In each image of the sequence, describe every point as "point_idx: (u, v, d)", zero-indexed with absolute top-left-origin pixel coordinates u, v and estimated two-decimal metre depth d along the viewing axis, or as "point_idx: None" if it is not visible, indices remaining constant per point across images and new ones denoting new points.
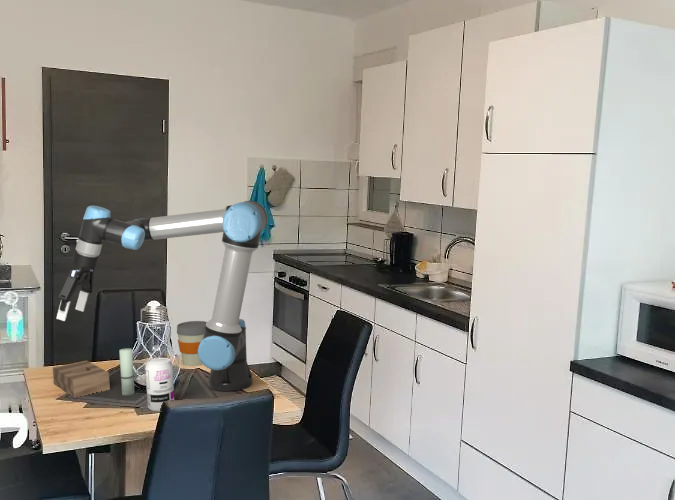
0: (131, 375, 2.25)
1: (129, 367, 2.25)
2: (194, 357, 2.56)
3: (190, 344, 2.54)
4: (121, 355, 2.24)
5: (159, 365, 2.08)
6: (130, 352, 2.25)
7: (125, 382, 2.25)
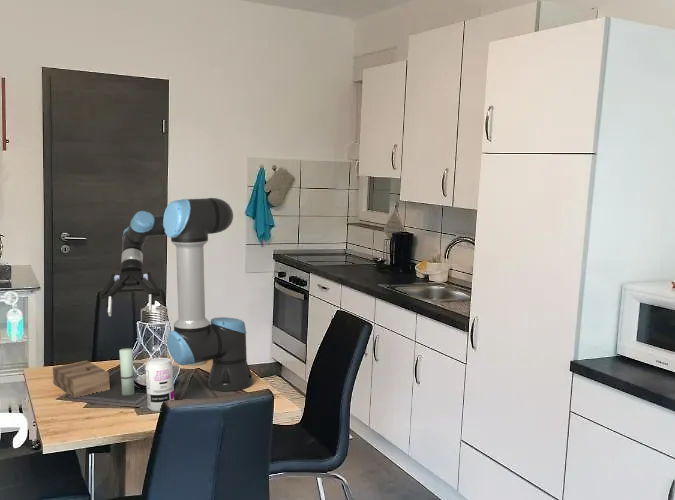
0: (131, 375, 2.25)
1: (129, 367, 2.25)
2: None
3: None
4: (121, 355, 2.24)
5: (159, 365, 2.08)
6: (130, 352, 2.25)
7: (125, 382, 2.25)
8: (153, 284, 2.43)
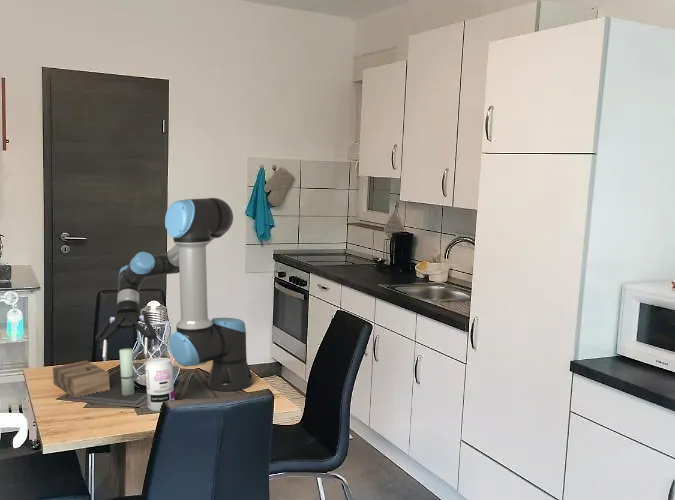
0: (131, 375, 2.25)
1: (129, 367, 2.25)
2: None
3: None
4: (121, 355, 2.24)
5: (159, 365, 2.08)
6: (130, 352, 2.25)
7: (125, 382, 2.25)
8: (149, 326, 2.37)
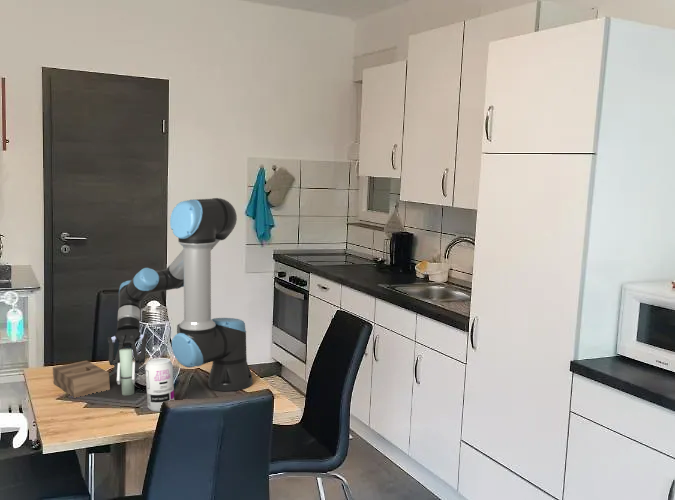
0: (131, 375, 2.25)
1: (129, 367, 2.25)
2: None
3: None
4: (121, 355, 2.24)
5: (159, 365, 2.08)
6: (130, 352, 2.25)
7: (125, 382, 2.25)
8: (142, 349, 2.30)
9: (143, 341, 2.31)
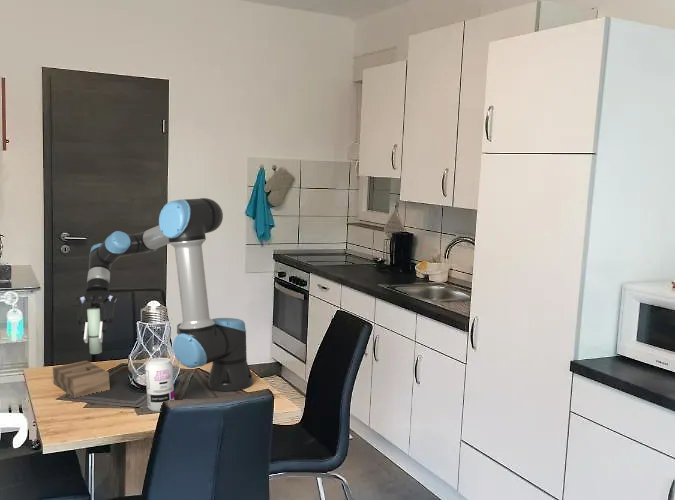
0: (98, 334, 2.29)
1: (96, 326, 2.28)
2: None
3: None
4: (89, 314, 2.28)
5: (159, 365, 2.08)
6: (98, 311, 2.28)
7: (93, 341, 2.29)
8: (110, 309, 2.33)
9: (111, 302, 2.35)
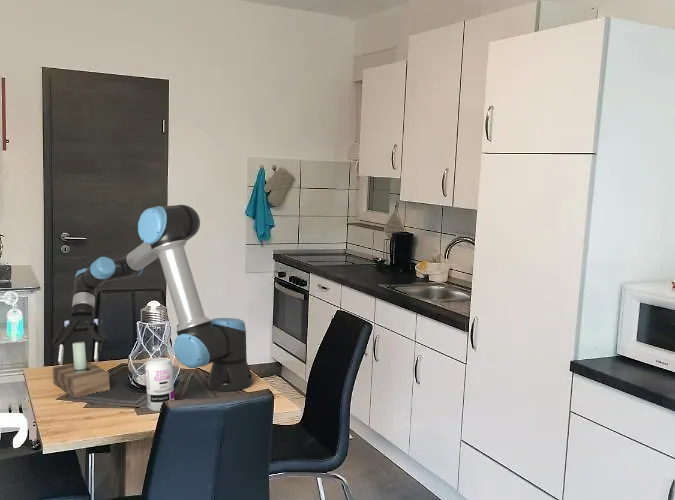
0: (84, 367, 2.33)
1: (81, 359, 2.33)
2: None
3: None
4: (74, 348, 2.32)
5: (159, 365, 2.08)
6: (83, 345, 2.33)
7: None
8: (101, 331, 2.38)
9: (99, 324, 2.39)
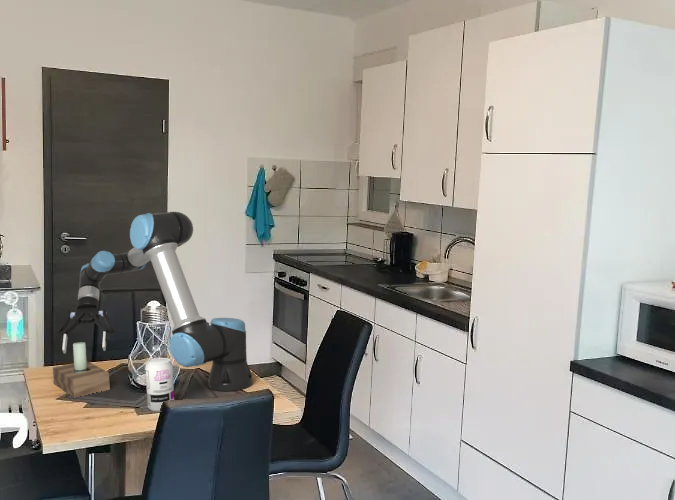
0: (84, 368, 2.33)
1: (82, 360, 2.32)
2: None
3: None
4: (74, 348, 2.32)
5: (159, 365, 2.08)
6: (83, 346, 2.32)
7: None
8: (108, 321, 2.50)
9: (105, 315, 2.52)
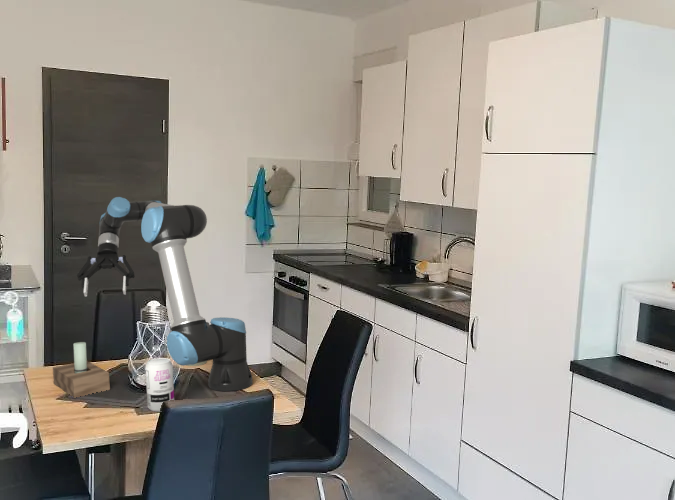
0: (84, 368, 2.33)
1: (82, 360, 2.32)
2: None
3: None
4: (75, 348, 2.32)
5: (159, 365, 2.08)
6: (84, 346, 2.33)
7: None
8: (128, 266, 2.54)
9: (125, 261, 2.55)
